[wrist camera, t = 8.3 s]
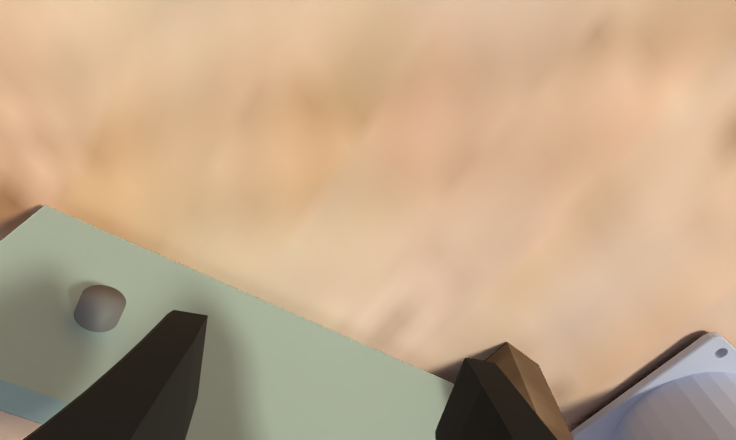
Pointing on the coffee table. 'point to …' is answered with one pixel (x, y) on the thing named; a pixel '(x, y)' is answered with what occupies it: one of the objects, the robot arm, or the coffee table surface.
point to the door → (221, 348)
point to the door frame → (531, 387)
